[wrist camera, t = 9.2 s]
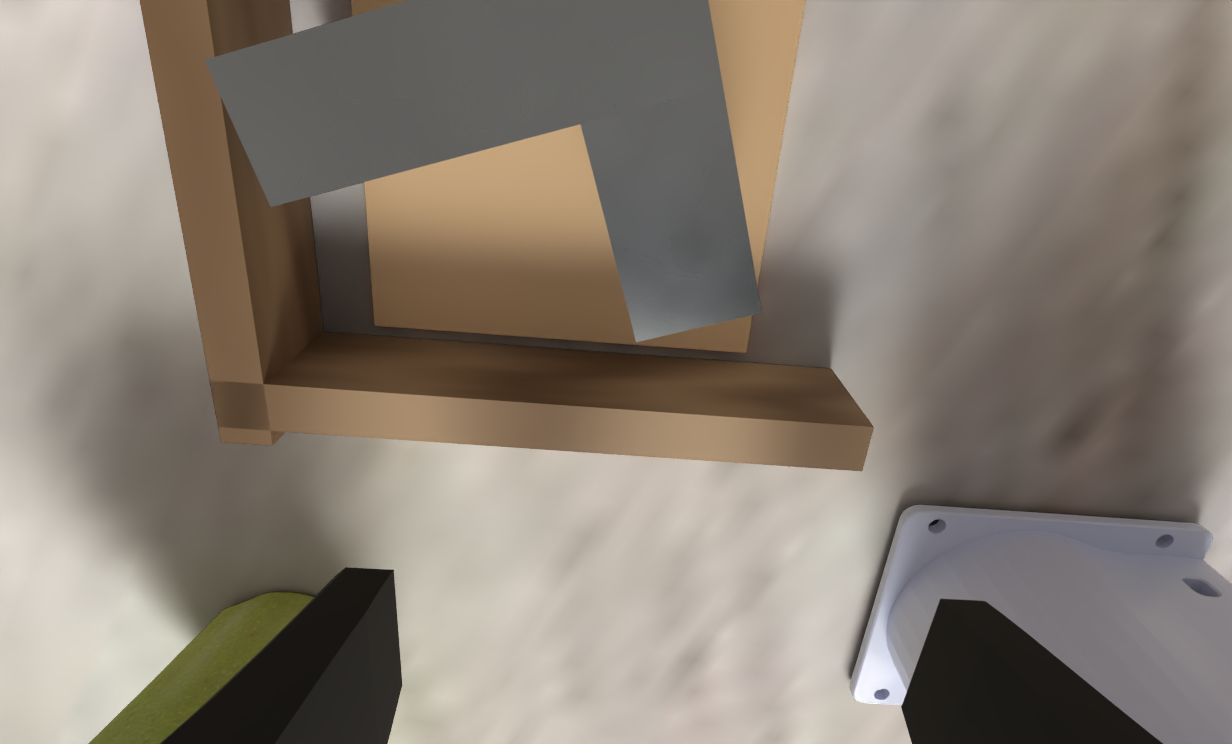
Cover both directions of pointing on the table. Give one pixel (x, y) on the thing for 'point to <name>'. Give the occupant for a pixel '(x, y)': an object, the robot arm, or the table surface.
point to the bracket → (522, 123)
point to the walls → (423, 368)
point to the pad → (564, 212)
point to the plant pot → (202, 668)
